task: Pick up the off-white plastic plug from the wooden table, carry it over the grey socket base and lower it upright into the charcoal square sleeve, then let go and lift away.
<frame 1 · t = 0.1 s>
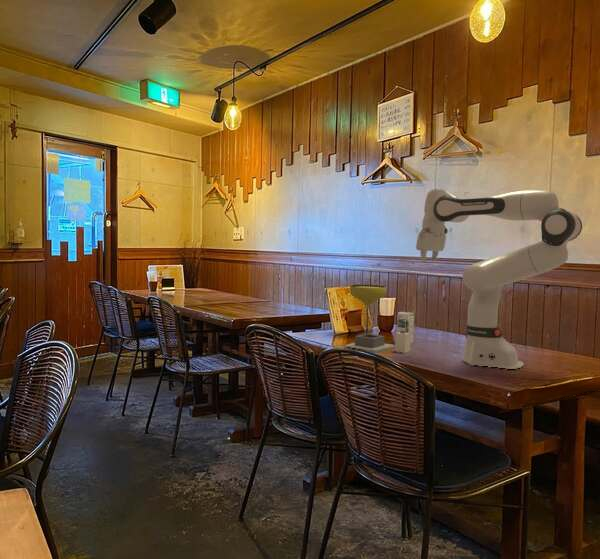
hand: (428, 261, 208), 39 cm above the table, tool pointing down, fingers open, 8 cm apart
syrup box: (404, 343, 232), on the table
plug: (402, 351, 212), on the table
socket: (369, 347, 220), on the table
cocktail glass: (366, 336, 249), on the table
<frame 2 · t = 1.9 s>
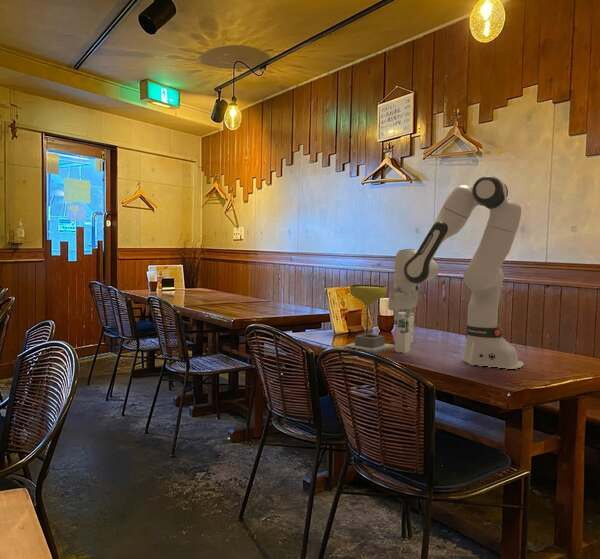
hand: (402, 319, 212), 14 cm above the table, tool pointing down, fingers open, 8 cm apart
nothing on the table moved.
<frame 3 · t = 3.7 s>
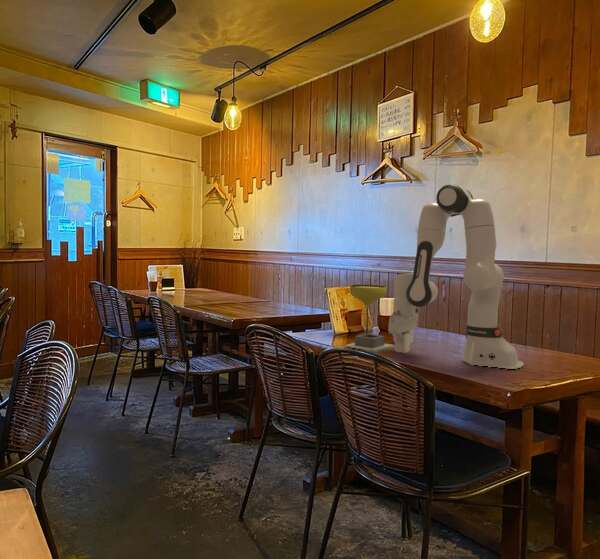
hand: (402, 342, 212), 4 cm above the table, tool pointing down, fingers closed on plug, 4 cm apart
plug: (402, 351, 212), on the table, touching gripper
everything else where it was.
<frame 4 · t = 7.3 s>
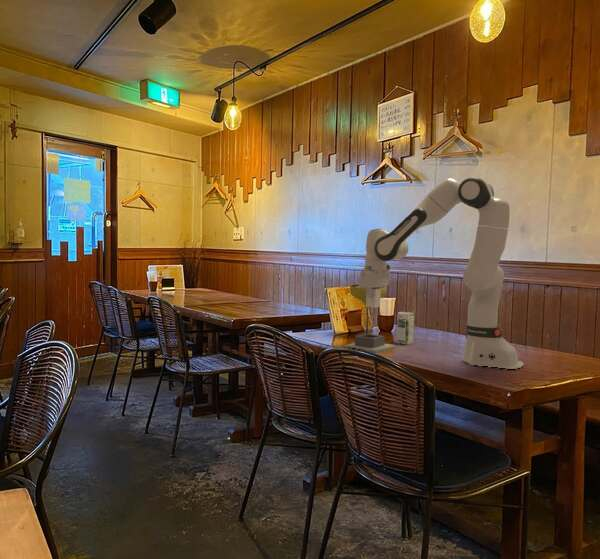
hand: (373, 297, 218), 22 cm above the table, tool pointing down, fingers closed on plug, 4 cm apart
plug: (372, 306, 219), point 18 cm above the table, touching gripper
everything else where it was.
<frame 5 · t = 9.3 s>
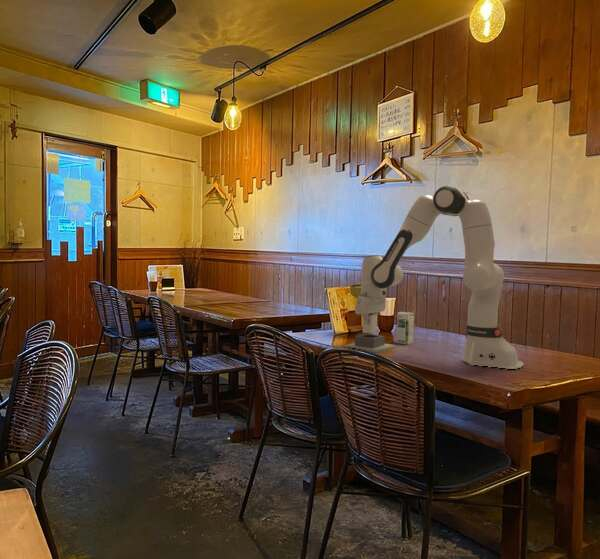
hand: (370, 323, 220), 11 cm above the table, tool pointing down, fingers closed on plug, 4 cm apart
plug: (369, 332, 220), point 7 cm above the table, touching gripper
everything else where it was.
when the fingers open (7 cm above the table, at t = 10.9 s): plug drops 1 cm, resting on socket.
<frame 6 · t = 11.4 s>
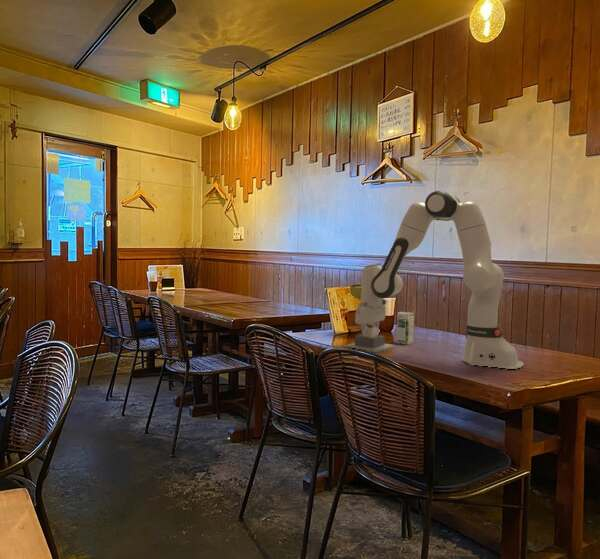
hand: (370, 332, 220), 7 cm above the table, tool pointing down, fingers open, 8 cm apart
plug: (369, 345, 220), point 1 cm above the table, touching socket
everything else where it was.
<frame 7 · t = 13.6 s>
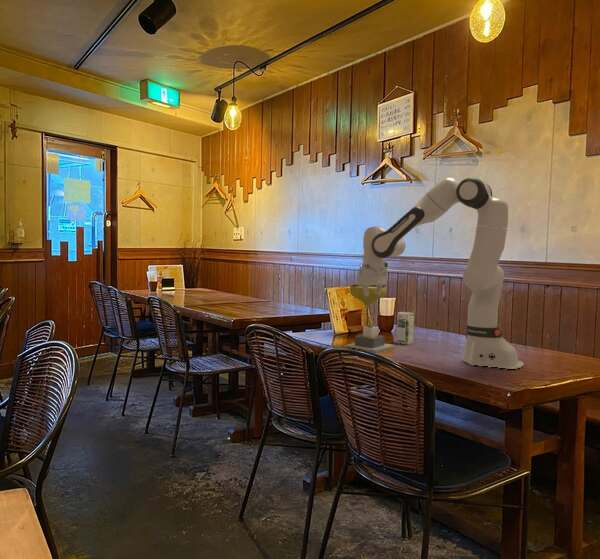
hand: (372, 295, 219), 23 cm above the table, tool pointing down, fingers open, 8 cm apart
nothing on the table moved.
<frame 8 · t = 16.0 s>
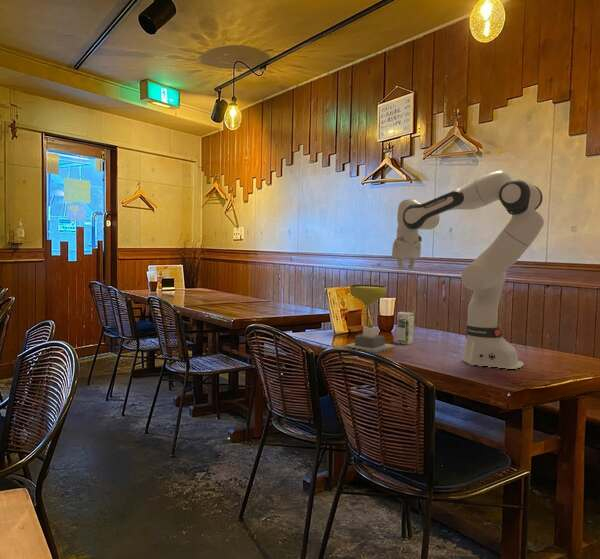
hand: (405, 268, 218), 35 cm above the table, tool pointing down, fingers open, 8 cm apart
nothing on the table moved.
at the end: plug 0.0 cm off-centre on the socket, point 1.0 cm above the socket's base; plug tilted 0°; the gripper is holding nothing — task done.
